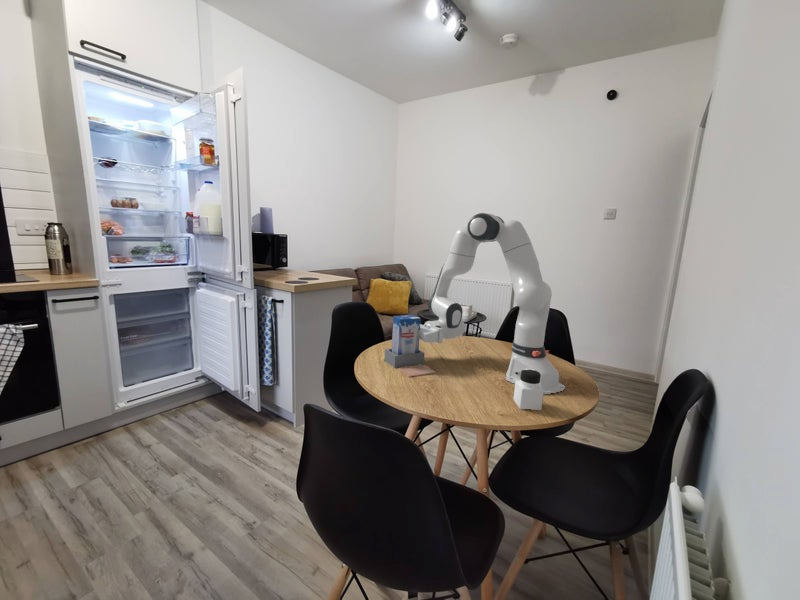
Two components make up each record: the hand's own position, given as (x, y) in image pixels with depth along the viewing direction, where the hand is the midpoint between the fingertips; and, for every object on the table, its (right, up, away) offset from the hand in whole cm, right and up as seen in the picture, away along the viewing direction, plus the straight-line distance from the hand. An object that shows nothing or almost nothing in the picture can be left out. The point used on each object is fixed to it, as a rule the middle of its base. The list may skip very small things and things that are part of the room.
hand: (404, 333), depth 147 cm
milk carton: (0, -13, +3) cm, 13 cm away
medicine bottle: (+40, -21, -32) cm, 56 cm away
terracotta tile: (+5, -15, -7) cm, 17 cm away
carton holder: (0, -13, +3) cm, 13 cm away
